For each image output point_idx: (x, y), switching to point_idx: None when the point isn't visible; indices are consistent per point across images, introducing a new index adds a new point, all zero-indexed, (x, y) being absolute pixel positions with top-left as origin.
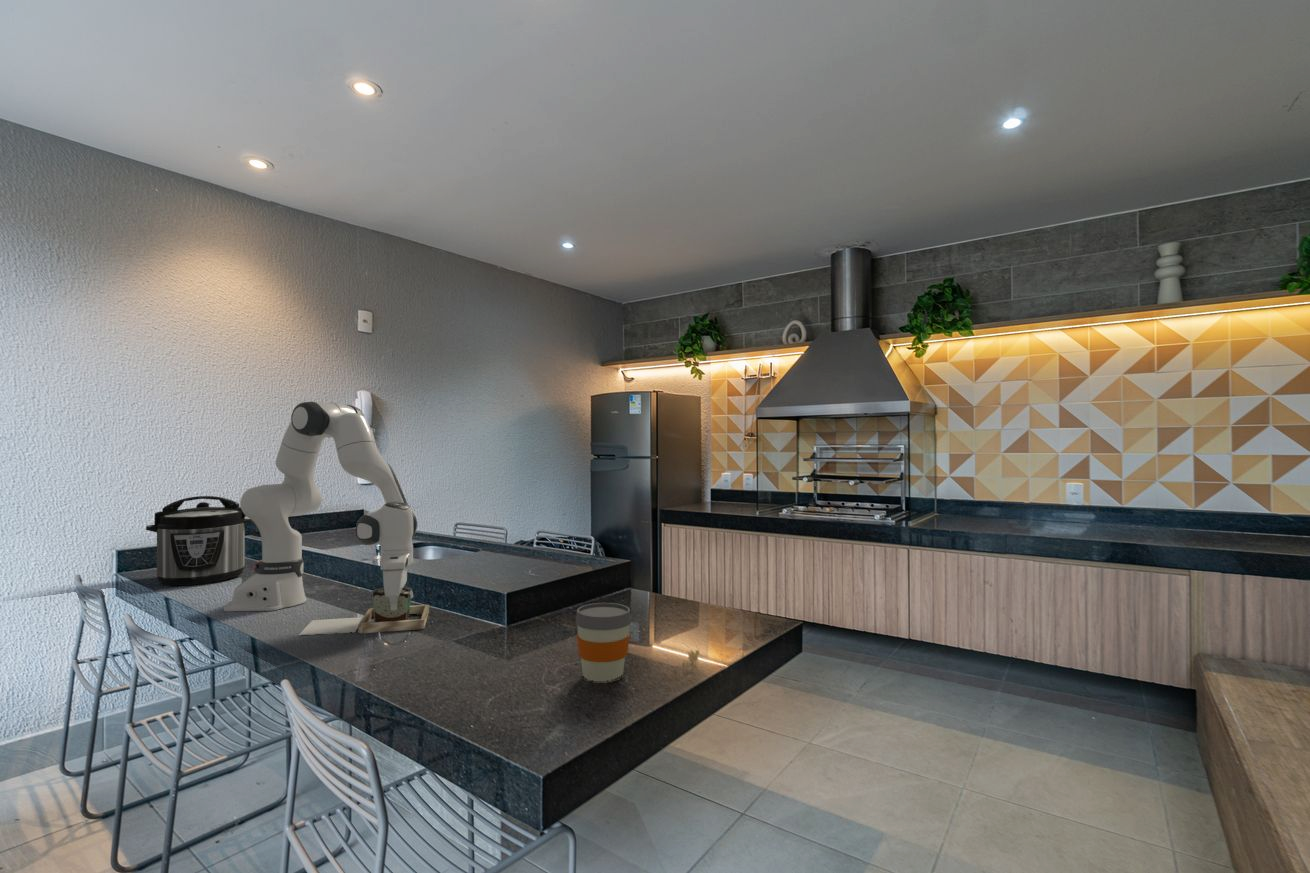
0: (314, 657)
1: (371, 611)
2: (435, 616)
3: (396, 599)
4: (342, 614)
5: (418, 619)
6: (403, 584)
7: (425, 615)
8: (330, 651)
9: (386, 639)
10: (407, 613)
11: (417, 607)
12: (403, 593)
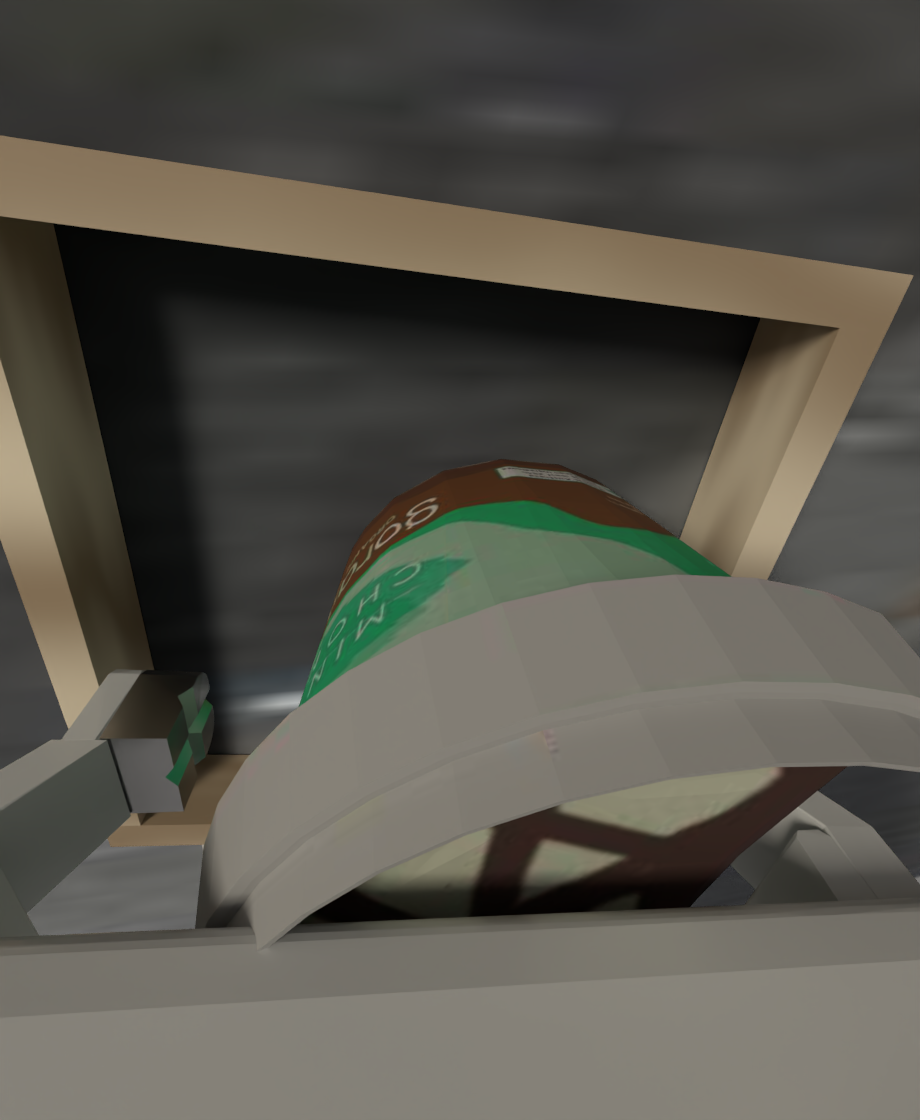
0: (914, 858)
1: (197, 813)
2: (231, 31)
3: (851, 825)
4: (55, 909)
5: (829, 362)
6: (391, 1068)
7: (674, 242)
8: (877, 826)
9: (890, 605)
10: (656, 524)
11: (19, 365)
12: (726, 822)
